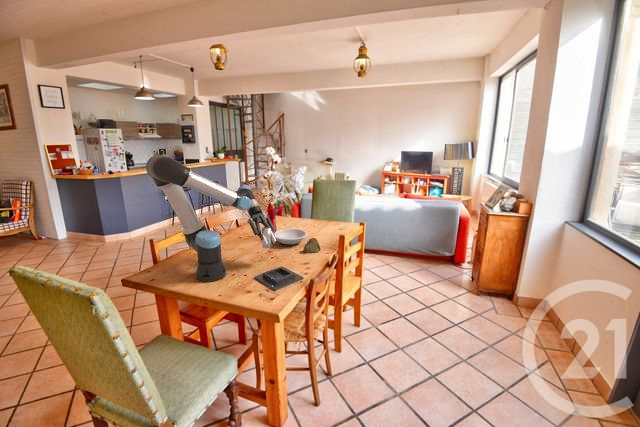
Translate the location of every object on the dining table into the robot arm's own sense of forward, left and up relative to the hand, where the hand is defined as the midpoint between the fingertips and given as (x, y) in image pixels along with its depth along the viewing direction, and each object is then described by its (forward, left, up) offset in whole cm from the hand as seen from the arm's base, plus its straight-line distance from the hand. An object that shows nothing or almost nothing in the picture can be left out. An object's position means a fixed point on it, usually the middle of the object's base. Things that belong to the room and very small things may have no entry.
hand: (270, 242), depth 167 cm
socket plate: (-6, -15, -14) cm, 22 cm away
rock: (+32, +2, -14) cm, 35 cm away
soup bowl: (+32, +24, -14) cm, 42 cm away
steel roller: (0, +4, -3) cm, 5 cm away
